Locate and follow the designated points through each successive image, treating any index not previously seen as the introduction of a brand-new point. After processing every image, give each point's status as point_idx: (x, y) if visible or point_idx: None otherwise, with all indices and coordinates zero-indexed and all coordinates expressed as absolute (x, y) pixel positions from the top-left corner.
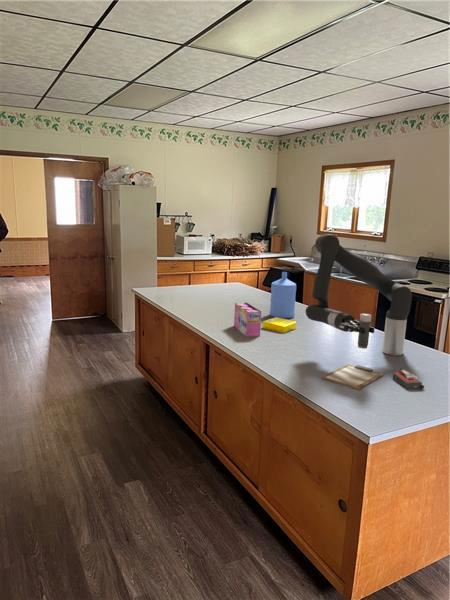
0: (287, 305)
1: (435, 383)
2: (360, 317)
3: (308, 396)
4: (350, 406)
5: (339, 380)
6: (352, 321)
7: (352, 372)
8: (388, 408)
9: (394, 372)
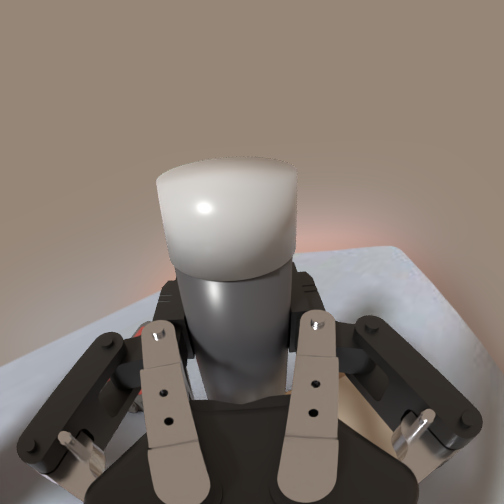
0: None
1: (84, 341)
2: (295, 211)
3: (480, 346)
4: (400, 302)
5: (381, 424)
6: (289, 438)
7: None
8: (321, 286)
9: (137, 399)
